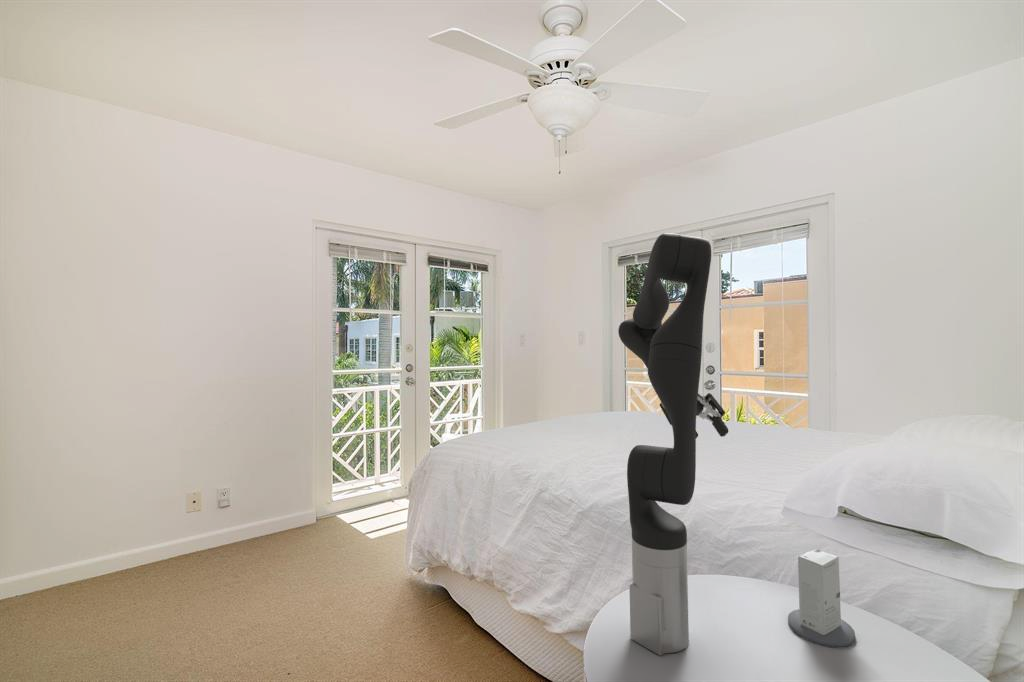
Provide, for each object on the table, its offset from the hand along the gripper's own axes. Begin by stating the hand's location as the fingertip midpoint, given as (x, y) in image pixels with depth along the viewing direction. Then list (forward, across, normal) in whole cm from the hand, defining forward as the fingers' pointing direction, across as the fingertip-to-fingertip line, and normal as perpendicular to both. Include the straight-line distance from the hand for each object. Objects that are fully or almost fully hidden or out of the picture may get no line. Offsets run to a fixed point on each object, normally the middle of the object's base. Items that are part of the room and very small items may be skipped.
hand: (710, 436), depth 104 cm
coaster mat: (+37, +3, +6) cm, 38 cm away
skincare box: (+36, +3, +6) cm, 37 cm away
